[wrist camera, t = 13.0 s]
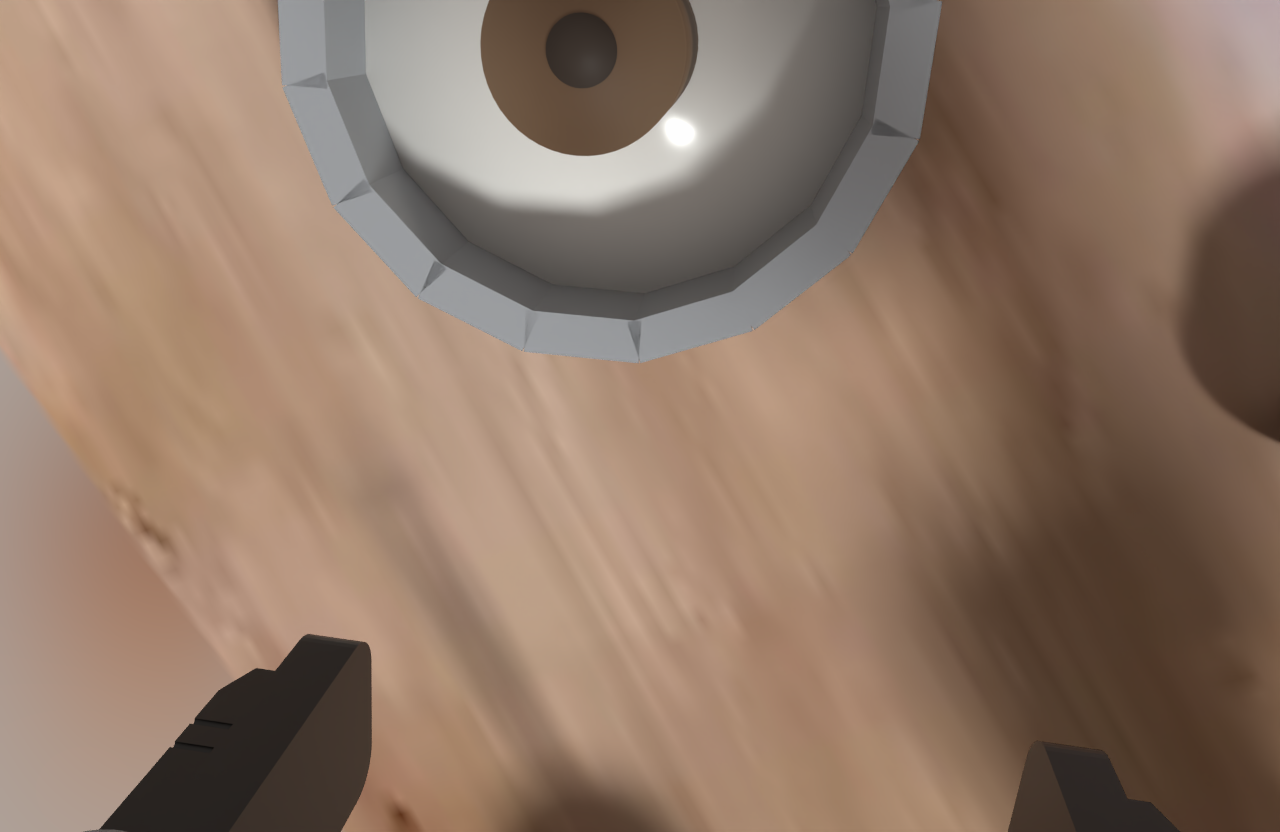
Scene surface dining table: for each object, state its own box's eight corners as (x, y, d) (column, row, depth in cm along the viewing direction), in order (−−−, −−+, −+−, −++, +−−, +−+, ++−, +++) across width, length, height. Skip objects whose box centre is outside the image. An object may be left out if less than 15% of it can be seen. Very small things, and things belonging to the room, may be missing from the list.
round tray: (963, -282, 26) (995, -326, 23) (865, 346, 32) (879, 387, 29) (323, -319, 28) (259, -367, 24) (342, 294, 34) (294, 328, 30)
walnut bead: (706, -42, 28) (693, -55, 23) (690, 135, 30) (674, 164, 24) (535, -54, 29) (481, -70, 23) (529, 121, 30) (477, 147, 25)
